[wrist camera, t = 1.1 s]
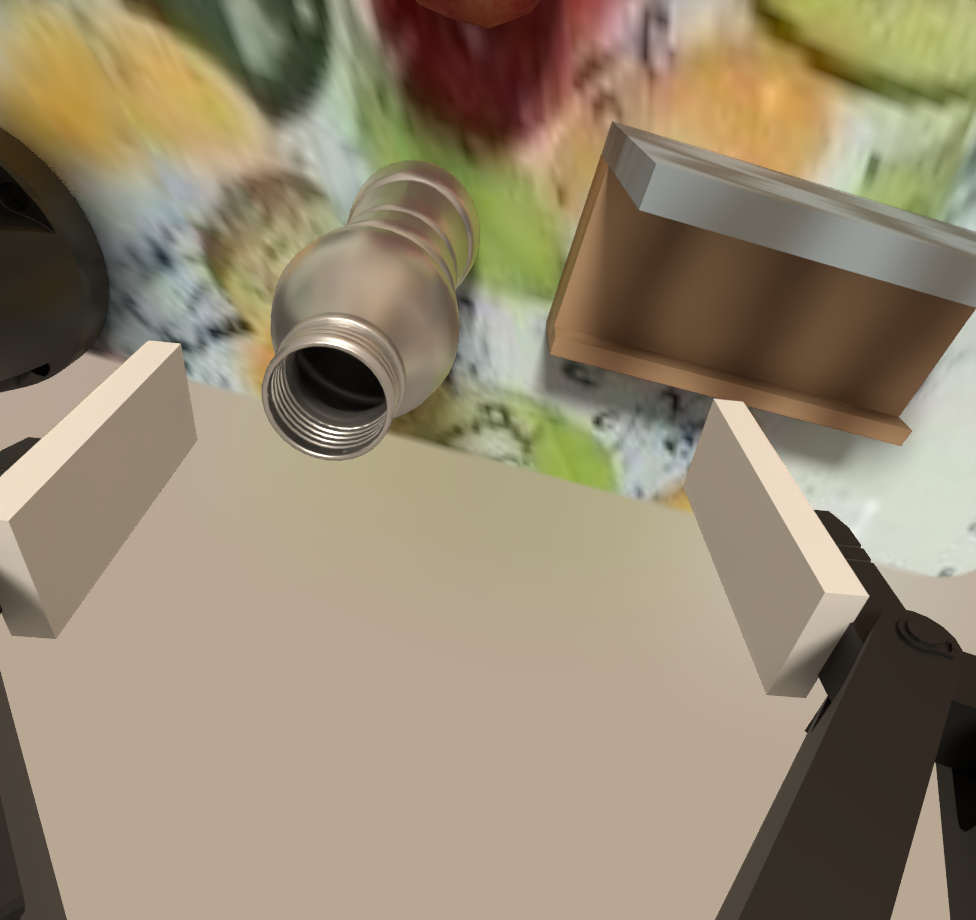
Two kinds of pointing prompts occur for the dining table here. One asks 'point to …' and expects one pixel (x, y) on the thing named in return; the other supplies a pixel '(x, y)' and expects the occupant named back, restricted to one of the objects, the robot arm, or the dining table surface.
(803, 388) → the brown wooden box
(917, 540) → the dining table surface
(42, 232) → the robot arm
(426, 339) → the silver metal bottle
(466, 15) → the fruit
